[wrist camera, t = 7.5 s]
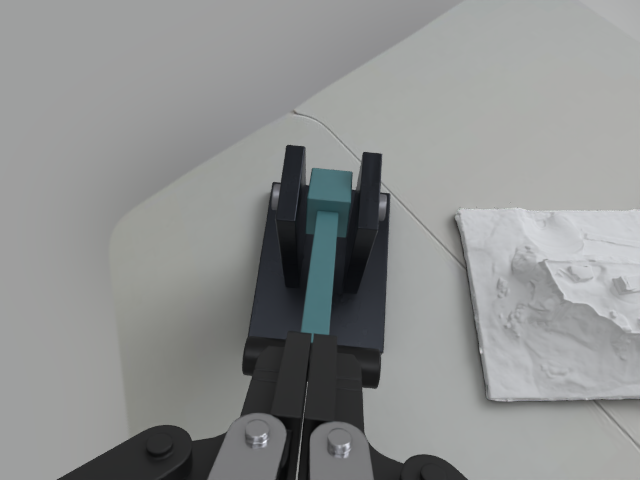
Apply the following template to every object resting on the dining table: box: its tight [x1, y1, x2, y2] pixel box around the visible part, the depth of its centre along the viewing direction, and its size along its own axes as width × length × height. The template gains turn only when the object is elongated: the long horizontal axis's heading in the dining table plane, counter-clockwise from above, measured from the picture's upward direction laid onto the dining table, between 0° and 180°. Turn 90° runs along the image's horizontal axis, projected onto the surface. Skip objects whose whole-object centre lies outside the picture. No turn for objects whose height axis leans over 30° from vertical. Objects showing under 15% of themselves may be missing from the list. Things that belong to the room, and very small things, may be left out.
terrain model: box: [454, 202, 640, 402], centre depth 32 cm, size 17×23×5 cm
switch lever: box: [242, 168, 381, 389], centre depth 22 cm, size 12×5×2 cm, turn 174°
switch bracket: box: [248, 145, 390, 354], centre depth 29 cm, size 12×9×12 cm
